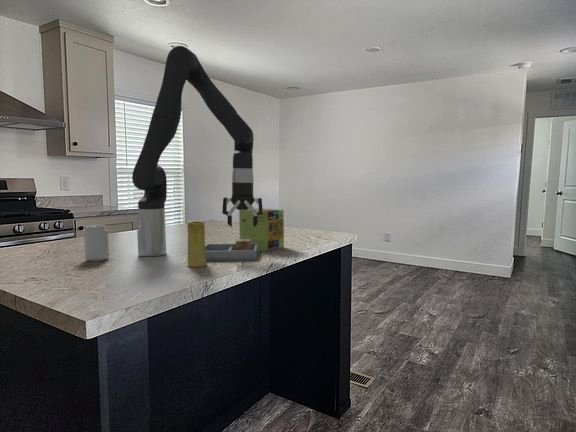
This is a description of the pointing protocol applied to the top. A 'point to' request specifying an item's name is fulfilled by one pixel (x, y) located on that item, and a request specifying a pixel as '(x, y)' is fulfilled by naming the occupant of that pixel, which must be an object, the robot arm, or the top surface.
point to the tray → (229, 252)
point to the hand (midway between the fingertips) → (242, 226)
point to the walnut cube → (243, 244)
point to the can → (96, 243)
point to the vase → (196, 244)
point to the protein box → (263, 228)
